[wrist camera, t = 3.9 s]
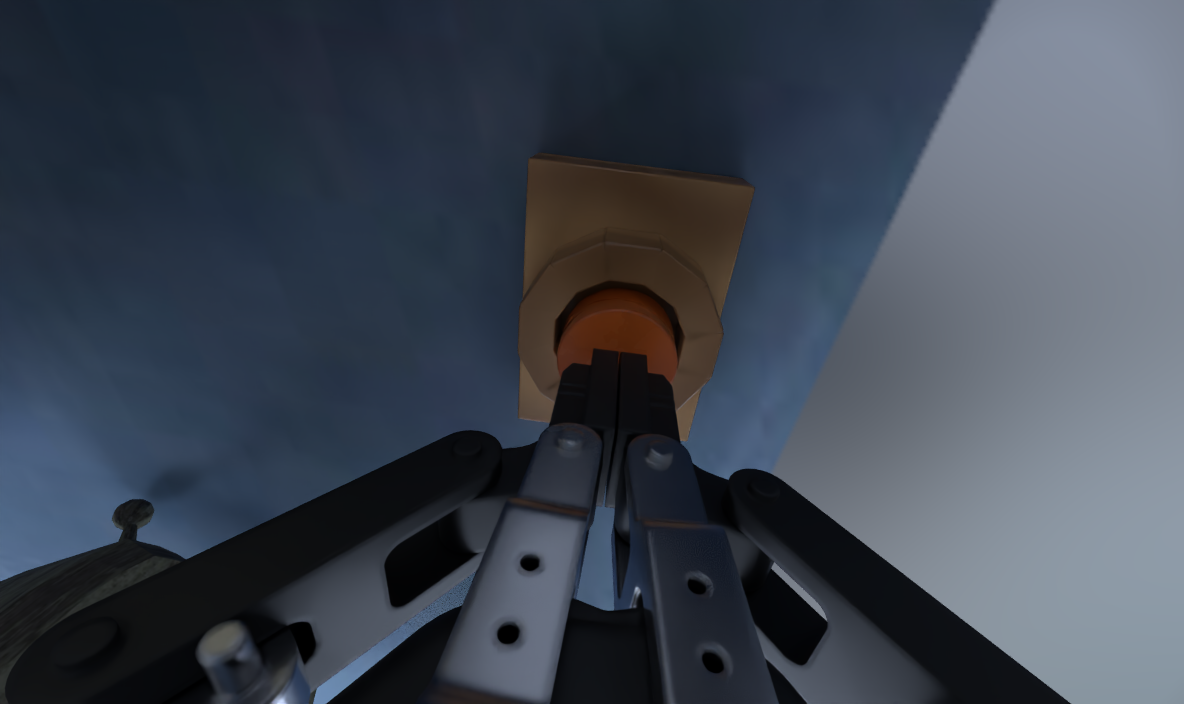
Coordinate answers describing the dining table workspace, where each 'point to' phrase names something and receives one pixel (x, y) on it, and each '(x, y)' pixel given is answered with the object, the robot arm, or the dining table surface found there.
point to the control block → (626, 262)
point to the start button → (619, 330)
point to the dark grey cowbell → (77, 585)
